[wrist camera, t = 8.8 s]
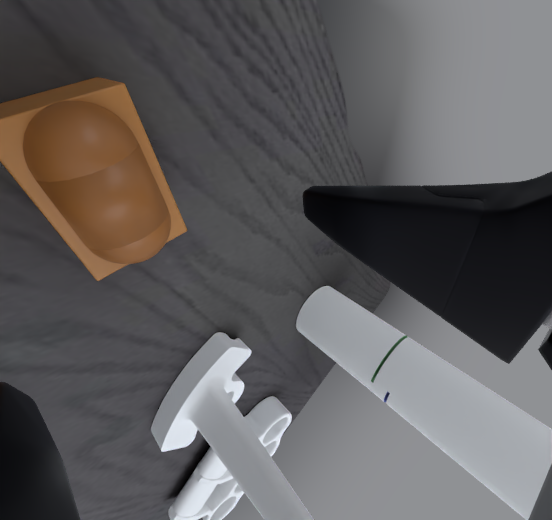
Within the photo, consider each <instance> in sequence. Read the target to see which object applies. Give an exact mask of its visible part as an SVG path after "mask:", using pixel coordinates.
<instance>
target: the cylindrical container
mask: <svg viewBox="0 0 552 520" xmlns="http://www.w3.org/2000/svg"><path fill="white" fill-rule="evenodd" d="M296 328H297V330H298V331H299V332H300V333H301V334H303V335H304V336H305V337H306V338H307V339H309V340H310V341H311V342H312V343H313V344H315V345H316V346H317V347H318V348H319V349H321V350H322V351H323V352H324V353H325V354H327V355H328V356H329V357H330V358H331V359H333V360H334V361H335V362H336V363H337V364H339V365H340V366H341V367H342V368H344V369H345V370H346V371H347V372H348V373H350V374H351V375H352V376H353V377H354V378H356V379H357V380H358V381H359V382H360V383H362V384H363V385H364V386H365V387H366V388H368V389H369V390H370V391H371V392H372V393H374V394H375V395H376V396H377V397H379V398H380V399H381V400H382V401H383V402H386V404H387V405H388V406H389V407H391V408H392V409H393V410H394V411H395V412H397V413H398V414H399V415H400V416H401V417H403V418H404V419H405V420H406V421H408V422H409V423H410V424H411V425H412V426H413V427H415V428H416V429H418V431H419V432H421V433H422V434H423V435H424V436H426V437H427V438H428V439H429V440H430V441H431V442H433V443H434V444H435V445H436V446H438V447H439V448H440V449H441V450H442V451H444V452H445V453H446V454H447V455H448V456H450V457H451V458H452V459H453V460H454V461H456V462H457V463H458V464H459V465H460V466H462V467H463V468H464V469H465V470H466V471H468V472H469V473H470V474H471V475H472V476H474V477H475V478H476V479H477V480H478V481H480V482H481V483H482V484H483V485H485V486H486V487H487V488H488V489H489V490H491V491H492V492H493V493H494V494H495V495H497V496H498V497H499V498H500V499H501V500H503V501H504V502H505V503H506V504H507V505H509V506H510V507H511V508H512V509H513V510H515V511H516V512H517V513H518V514H520V515H521V516H522V517H523V518H525V519H526V520H528V519H529V517H530V515H531V512H532V510H533V507H534V505H535V502H536V500H537V498H538V495H539V493H540V490H541V488H542V486H543V483H544V481H545V478H546V476H547V473H548V471H549V469H550V466H551V464H552V429H551V428H550V427H548V426H546V425H545V424H543V423H542V422H540V421H539V420H537V419H535V418H534V417H532V416H531V415H529V414H528V413H526V412H524V411H523V410H521V409H520V408H518V407H517V406H515V405H514V404H512V403H511V402H509V401H507V400H506V399H504V398H503V397H501V396H500V395H498V394H497V393H495V392H493V391H492V390H490V389H489V388H487V387H486V386H484V385H483V384H481V383H479V382H478V381H476V380H475V379H473V378H472V377H470V376H469V375H467V374H465V373H464V372H462V371H461V370H459V369H458V368H456V367H455V366H453V365H451V364H450V363H448V362H447V361H445V360H444V359H442V358H440V357H439V356H437V355H436V354H434V353H433V352H431V351H430V350H428V349H426V348H425V347H423V346H422V345H420V344H419V343H417V342H416V341H414V340H413V339H411V338H410V337H407V336H406V335H405V334H403V333H402V332H400V331H399V330H397V329H395V328H394V327H392V326H391V325H389V324H388V323H386V322H385V321H383V320H381V319H380V318H378V317H377V316H375V315H374V314H372V313H371V312H369V311H367V310H366V309H364V308H363V307H361V306H360V305H358V304H357V303H355V302H353V301H352V300H350V299H349V298H347V297H346V296H344V295H343V294H341V293H339V292H338V291H336V290H335V289H333V288H332V287H330V286H323V287H321V288H319V289H317V290H316V291H315V292H314V293H313V294H312V295H311V296H310V297H309V298H308V299H307V300H306V301H305V303H304V304H303V306H302V308H301V310H300V312H299V314H298V317H297V321H296Z"/></svg>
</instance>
